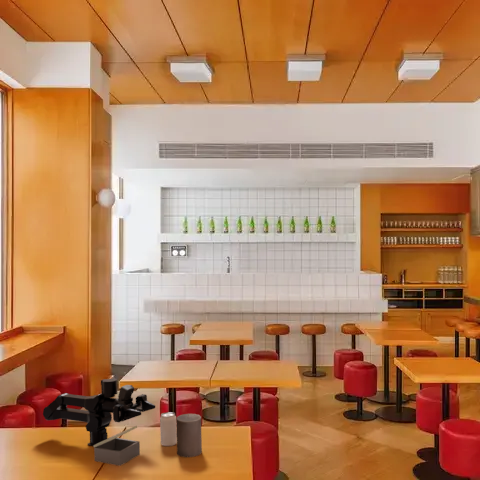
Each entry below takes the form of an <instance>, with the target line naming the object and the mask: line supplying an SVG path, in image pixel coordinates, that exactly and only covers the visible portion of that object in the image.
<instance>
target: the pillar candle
mask: <svg viewBox="0 0 480 480" xmlns="http://www.w3.org/2000/svg"><path fill="white" fill-rule="evenodd" d="M176 430H177V443H176V454H177V456H179V457H183V458H192V457H198V456H200V455H201V454H202V452H203V451H202V449H203V447H202V444H203V442H202V438H203V437H202V416H201V415H200V414H196V413H184V414H180V415H178V416H176Z"/></svg>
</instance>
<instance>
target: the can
mask: <svg viewBox="0 0 480 480" xmlns="http://www.w3.org/2000/svg"><path fill="white" fill-rule="evenodd" d="M176 419H177V416H176V413H175V412H171V411H169V412H162V413H161V414H160V419H159V422H160V423H159V427H160V429H159V430H160V434H159V435H160V444H161V446H162V447H173V446H175V445H177V421H176Z"/></svg>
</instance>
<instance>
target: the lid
mask: <svg viewBox="0 0 480 480" xmlns="http://www.w3.org/2000/svg"><path fill="white" fill-rule="evenodd" d="M137 428H138V426H137V425H135V426H132V427H130V428H128V429H125V430H123V431H121V432H119V433H116V434H114V435H112V436H110V437H107V439H106V440H104V441H101V442H99V443H97V444H95V445H93V446H92V447H93V448H95V447H97V446H99V445H101V444H104V443H106V442H108V441H111V440H113V439H115V438H120V437H122V436H124V435H126V434H127V433H129V432H131V431H133V430H135V429H137Z"/></svg>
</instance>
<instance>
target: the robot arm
mask: <svg viewBox="0 0 480 480" xmlns="http://www.w3.org/2000/svg"><path fill="white" fill-rule="evenodd" d="M100 385H101V392H100V393H99V394H94V395H90V396H89V395H88V396H86V395H78V394H71V393H67V392H65V393H61V394H59V395H57V397H56V398H55V399H54V400H52V401H51V402H50V403H49V404H48V405H47V406H45V407H44V408H43V410H42V415H43V418H44V419H45V420H46V421H56V420H61V419H62V420H68V421H69V420H70V421H75V422H83V423H86V425H85V430H86V432H89V442H88V443H87V444H86V445H87V446H92V447H94V446H93V445H95V444H97V443H99V442H101V441H104V440H106V439H108V432H107V427H110V424H111V422H112V420H113V421H114V422H115V423H121V422H124V421H127V420H130V419H134V418H136V417H139V416H141V415H142V413H144V412H147V411H150V410H153V409H156V405H155V404H154V403H152V402H151V401H148V396H147V394H143V393H142V394H140V395H137V396H136V397H135V403H134V397H132V395H133V393H134V392H135V387H134V386H133V385H132V384H125V385H123V386H121V387H120V388H119V389H120V390H119V391H118V379H117V378H114V377H113V378H107V379H106V378H104V379H101V380H100ZM116 395H118V396H117V397H118V398H117V397H116ZM68 406H70V407H68ZM71 406H72V407H80V408H84V409H77V408H71ZM112 418H113V419H112Z"/></svg>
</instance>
